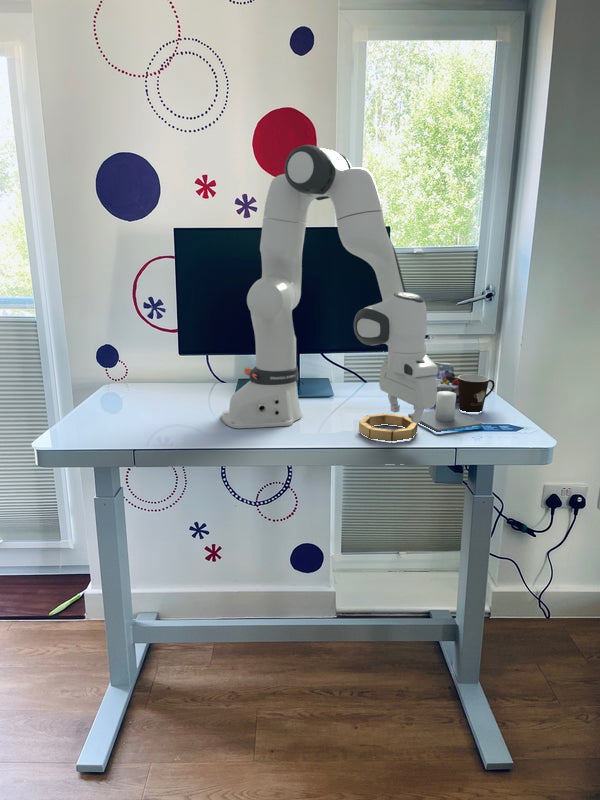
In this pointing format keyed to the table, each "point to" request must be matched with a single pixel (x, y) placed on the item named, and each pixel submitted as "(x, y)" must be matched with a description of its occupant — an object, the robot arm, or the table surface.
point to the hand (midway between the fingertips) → (405, 416)
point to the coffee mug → (473, 392)
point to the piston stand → (446, 415)
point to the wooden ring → (385, 434)
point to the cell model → (446, 379)
